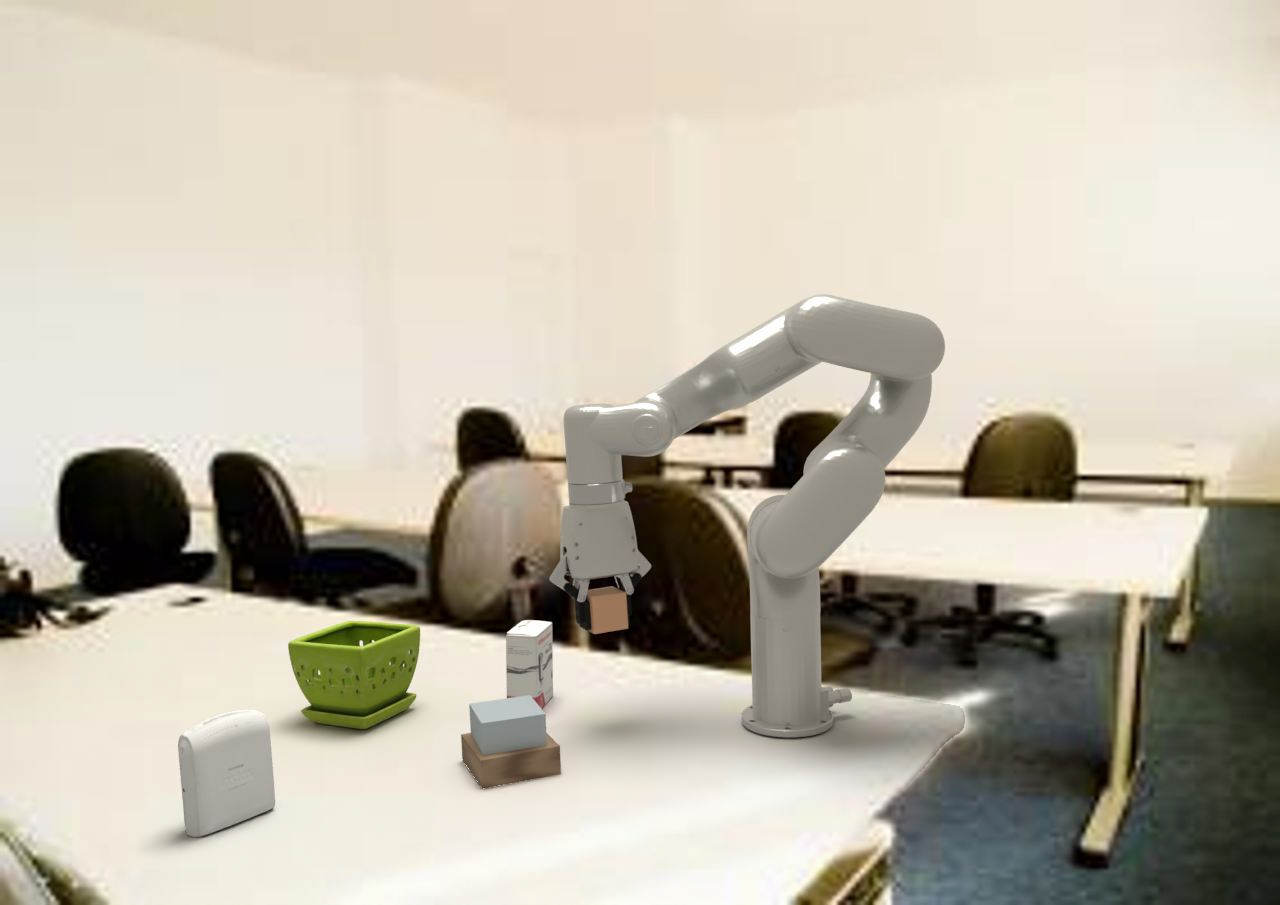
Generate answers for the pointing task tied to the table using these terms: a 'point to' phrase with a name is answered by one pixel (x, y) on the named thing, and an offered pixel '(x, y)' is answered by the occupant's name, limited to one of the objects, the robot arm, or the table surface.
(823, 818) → the table surface
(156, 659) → the table surface
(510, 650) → the ink box
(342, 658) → the flower pot
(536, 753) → the walnut slab
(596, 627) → the terracotta cube
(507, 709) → the slate block
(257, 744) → the photo printer
